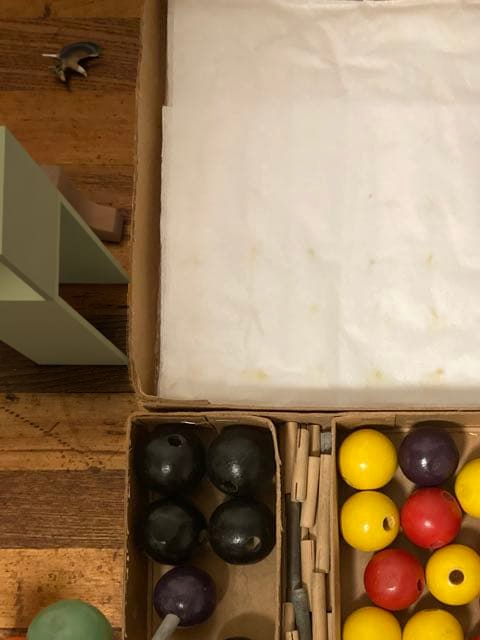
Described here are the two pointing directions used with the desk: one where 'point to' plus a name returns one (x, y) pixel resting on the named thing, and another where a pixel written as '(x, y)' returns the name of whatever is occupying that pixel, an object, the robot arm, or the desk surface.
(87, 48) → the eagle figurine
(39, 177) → the shelf
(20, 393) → the desk surface
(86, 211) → the wooden block
